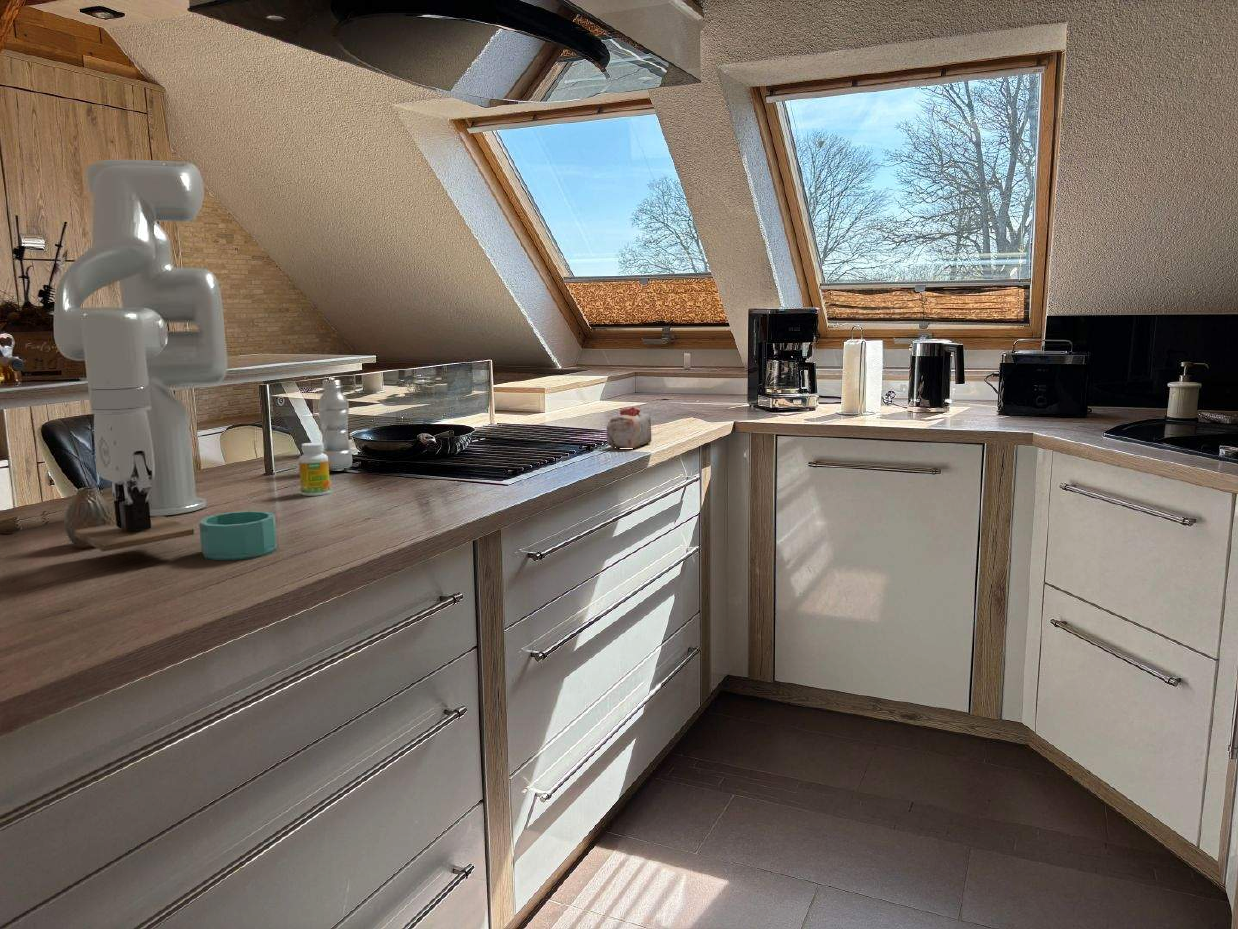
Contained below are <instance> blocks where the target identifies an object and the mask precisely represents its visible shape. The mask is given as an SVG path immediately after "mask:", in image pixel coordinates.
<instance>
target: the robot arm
mask: <svg viewBox="0 0 1238 929" xmlns="http://www.w3.org/2000/svg"><path fill="white" fill-rule="evenodd" d="M86 179H87V186H88V189H89V191H90V195H91V196H92V199H93V201H92V224H91V225H92V229H91V247H90V248H88V250H86V251H85V252H83V253H82V254H81V255H80V256H79V257H78V258H76V259H75V260H74V261H73V262H72V264H70V265H69V266H68V268H67V269H66V270H65V272H64V273H63V274H62V276H61V278H60V279H59V281H58V284H57V286H56V290H55V294H54V308H53V309H54V310H53V337H54V341H55V342H54V343H55V345H56V348H57V349H58V351H59V353H60V354H61V355H62V356H63V357H64V358H66V359H69V360H73V361H78V362H79V361H84V363H85V371H86V374H85V375H86V382H87V388H88V398H89V399H88V400H89V407H90V413H92V414H94V415H93V436H94V437H93V439H94V454H95V455H94V456H95V468H96V473H97V476H98V477H100V478H101V479H103V480H105V481H107V482H110V483H111V484H110V485H111V490H112V498H113V505H114V507H113V508H114V512H115V516H116V525H117V527H119V528H122V525H121V516H120V507H119V503H120V502H123V501H126V504H125V505H123V506H124V515H125V524H126V531H127V532H130V533H131V532H136V531H142V530H147V529H150V528H151V519H150V517H154V516H160V515H162V516H164V517H165V516H171V515H181V514H185V513H186V514H187V513H190V512H195V511H198V510H201V509H203V508H205V507H206V506H207V501H206V499H205V498H203V497H199V496H197V493H196V484H195V473H194V472H195V471H194V459H193V458H194V457H193V451H192V449H193V448H192V440H191V438H192V437H191V426H190V414H189V411H188V408H187V406H186V405H185V403H184V402H183V400H181V399H180V398H179V396H177V395H176V394H175V392H173V391H172V390H171V387H177V386H200V385H214V384H218V383H221V382H222V381H223V380H224V379H225V377H226V376H227V374H228V373H227V372H228V350H227V342H226V340H227V339H226V331H225V319H224V308H223V300H222V299H223V298H222V293H221V287H220V284H219V281H218V278H217V277H216V275H215V274H214V273H213V272H211V271H210V270H208V269H205V268H200V267H175V266H174V264H173V261H172V260H173V258H172V245H171V240H170V238H169V236H168V234H167V233H166V232H165V230H164V229H163V228H162V226H161V225H160V224H159V223H158V222H168V223H169V222H173V223H174V222H175V223H176V222H178V223H179V222H180V223H183V222H184V223H187V222H192V221H194V220H195V219H196V217H197V216H198V214H199V212H200V211H201V209H202V206H203V203H204V199H205V187H204V181H203V177H202V174H201V172H200V170H199V169H198V167H197V166H196V165H195V164H194V163H192V162H190V161H189V162H188V161H181V160H180V161H179V160H178V161H176V160H151V159H150V160H148V159H127V158H123V159H121V158H120V159H119V158H117V159H114V158H113V159H105V160H100V161H96V162H94V163H92V164H91V165H90V166H89V167H88V169H87V172H86ZM117 282H118V283H119V291H120V299H121V304H122V307H115V306H114V307H112V306H111V307H104V306H103V307H82V305H83V304H84V302H85V301H86V299H88V298H89V297H90V296H91V295H92V294H94V293H95V292H98V291H99V290H101V289H103V288H104V287H107V286H110V285H113V284H115V283H117ZM167 324H193V325H194V326H195V327H196V329H197V330H175V331H174V330H168V328H167Z"/></svg>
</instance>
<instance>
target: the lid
mask: <svg viewBox="0 0 1238 929" xmlns="http://www.w3.org/2000/svg"><path fill="white" fill-rule="evenodd" d="M125 504H126V501H123V502H120V503H119V507H120V516H121V525H122V528H119V527H117V525H116V523H113V524H108V525H102V526H96V527H90V528H84V529H78V530H74V532H75V536H76V537H78V538H80V539H82V540H84V541H85V542H87V543H89V544H91V545H92V546H94V547H93V548H96V549H99V550H100V551H101V552H108V551H114V550H115V551H116V550H120V549H125V548H130V547H135V546H141V545H146V544H151V543H157V542H162V541H167V540H172V539H178V538H183V537H189V536H193V535H195V530H194V528H192V527H190V526H187V525H185V524H183V523H180V522H178V521H176V520H174V519H172V518H169V517H166V516H165V515H164V516H162V515H160V516H150V519H151V528H150V529H147V530H142V531H136V532H131V533H130V532H127V531H126V524H125V515H124V506H123V505H125Z"/></svg>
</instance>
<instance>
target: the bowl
mask: <svg viewBox="0 0 1238 929" xmlns="http://www.w3.org/2000/svg"><path fill="white" fill-rule="evenodd" d="M198 523H199V525H198V526H199V535H200V548H201V552H202V556H203V557H204V558H205V559H207V560H210V561H211V560H213V561H241V560H248V559H254V558H258V557H262V556H266V555H269V554H271V553H274V552H275V551H276V550H277V528H276V517H275V513H273V512H271V511H270V512H269V511H266V510H265V511H264V510H262V511H261V510H242V511H230V512H224V513H219V514H218V513H217V514H213V515H210V516H207V517H204V518H201V519H200V520H199V522H198Z"/></svg>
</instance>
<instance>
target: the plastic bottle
mask: <svg viewBox="0 0 1238 929" xmlns="http://www.w3.org/2000/svg"><path fill="white" fill-rule="evenodd" d="M341 389H342V383H341V379H325V380H322V390H324V391H323V393H322V395H321V396H320V398H319V400H318V403H317V409H318V415H319V419H320V420H319V421H320V427H321V435H322V436H321V437H322V438H321V443H323V446H324V449H323V450H324V451H323V454H325V455H327V457H328V465H329V470H337V469H344V468H349V467H350V468H352V464H353V456H352V451H351V449H350V440H349V435H348V434H349V430H348V429H349V424H348V423H349V422H348V421H349V411H350V410H349V408H350V403H349V400H348V399H347V398H346V396H345V394H343V392H341Z"/></svg>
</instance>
